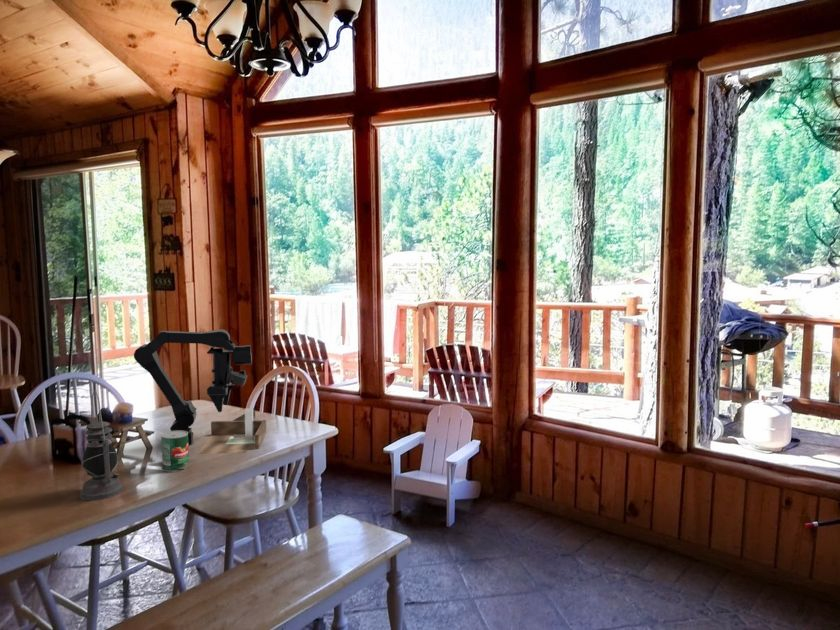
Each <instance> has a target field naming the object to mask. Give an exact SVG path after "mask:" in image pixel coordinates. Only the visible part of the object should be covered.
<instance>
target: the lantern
mask: <svg viewBox="0 0 840 630" xmlns="http://www.w3.org/2000/svg"><path fill="white" fill-rule="evenodd" d="M94 395H96V398H97V402H98V409H99V413H96V414H95V416H96V418H95V419H96V421H95V422H93V415H94V414H93V413H94ZM100 403H101V402H100V397H99V395H98V392H97V390H96V389H94V391H93V392H92V395H91V413H90V414H91V415H90V423H89V424H87V426H86V427H87V428H88V430H86V431H85V432H84V434H85V435H86V436H85V439H86V441H88V442H87V443H86V448H85V450H84V452H83V454H82V458H81V461H82V464H81V467H82V468H83V470H84V471H85V472H86V476H90V477H91V478H90V479H88V480H86V481H84V483H83V485H82V489H80V494H79V497H80V499H82V500H85V501H100V500H105V499H110V498H113V497H115V496H117V495H119V494H120V493H122V491H123V487H122V483H121V482H120V479H119V476H120V474H119V473H113V472H114V471H115V469H116V467H117V465H118V464H119V463H118V462H119V457H118V452H117V450H116V448H115V447H114V446H113V442H112V440H111V439H110V438H112V435H113V434H112V433H111V432H113V427H108V426H110V425H111V424H110V422H108V421H104V420H103V418H102V411H101V404H100ZM98 418H99V421H98ZM111 473H112V475H111Z"/></svg>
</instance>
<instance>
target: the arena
mask: <svg viewBox="0 0 840 630" xmlns="http://www.w3.org/2000/svg"><path fill="white" fill-rule="evenodd" d="M253 426H254V436H255V444H226V443H227V441H228V440H229V438H230V437H234V435H235V434H245V421H233V420H212V421H210V429H211V430H210V433H211V435H210V437H208V438H207V440H206V441H205V442H204V444H203V445H202V446H201V448H200V449H199V451H198V452H197V453H196V455H207V454H208V455H210V454H215V455H216V454H217V455H218V454H246V453H247V451H248V450H260V447H261V445H262V444H263V441H264V439H265V437H266V435H267V420H266V419H255V420H254V419H253Z"/></svg>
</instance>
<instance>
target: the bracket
mask: <svg viewBox="0 0 840 630" xmlns="http://www.w3.org/2000/svg"><path fill="white" fill-rule="evenodd" d="M253 408H254V407H251V408H250V407H249V408H247V407H246V408H245V410H244V414H245V434H235V435H234V437H233V443H234V442H253V438H254V426H253V420H254V419H253Z"/></svg>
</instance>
